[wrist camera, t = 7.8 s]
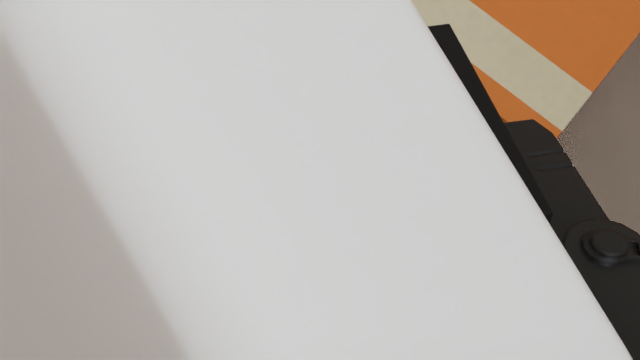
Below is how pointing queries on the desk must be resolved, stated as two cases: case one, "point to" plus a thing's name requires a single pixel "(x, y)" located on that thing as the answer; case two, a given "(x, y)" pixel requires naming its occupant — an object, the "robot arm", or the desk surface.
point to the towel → (539, 50)
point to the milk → (265, 192)
